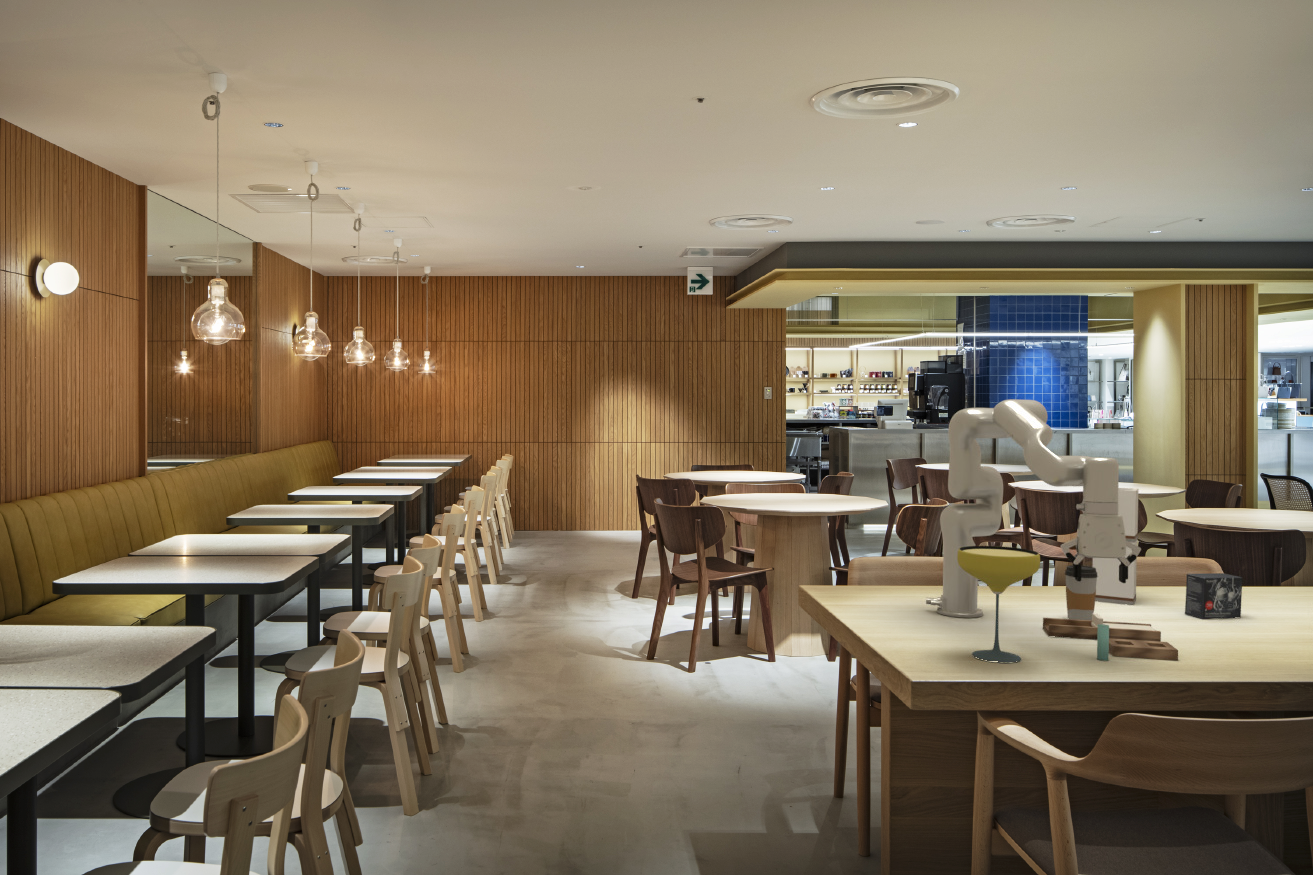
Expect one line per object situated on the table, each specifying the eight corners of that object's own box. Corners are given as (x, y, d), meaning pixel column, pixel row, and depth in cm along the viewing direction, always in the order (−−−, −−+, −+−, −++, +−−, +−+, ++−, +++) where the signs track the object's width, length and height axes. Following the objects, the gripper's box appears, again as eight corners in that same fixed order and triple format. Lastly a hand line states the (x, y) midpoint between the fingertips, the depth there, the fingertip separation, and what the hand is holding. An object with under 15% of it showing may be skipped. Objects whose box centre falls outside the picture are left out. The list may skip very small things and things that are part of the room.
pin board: (1112, 655, 210) (1112, 645, 210) (1103, 647, 218) (1104, 637, 218) (1177, 660, 207) (1178, 650, 207) (1167, 651, 215) (1167, 641, 215)
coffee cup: (1100, 624, 243) (1101, 570, 243) (1068, 623, 245) (1069, 569, 244) (1092, 618, 251) (1093, 565, 251) (1060, 616, 253) (1061, 564, 252)
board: (1049, 636, 229) (1049, 624, 229) (1042, 628, 238) (1043, 617, 238) (1160, 643, 223) (1160, 631, 223) (1149, 635, 231) (1150, 623, 231)
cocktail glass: (995, 671, 196) (997, 558, 196) (939, 651, 213) (941, 547, 212) (1056, 663, 203) (1058, 554, 203) (996, 644, 220) (998, 544, 219)
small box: (1203, 619, 251) (1204, 577, 251) (1184, 614, 258) (1184, 573, 258) (1242, 618, 254) (1243, 576, 254) (1222, 613, 261) (1223, 572, 260)
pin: (1098, 660, 206) (1099, 626, 206) (1095, 657, 208) (1096, 623, 208) (1109, 661, 206) (1110, 626, 205) (1107, 658, 208) (1107, 624, 208)
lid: (1097, 630, 227) (1097, 618, 227) (1091, 625, 234) (1091, 613, 233) (1157, 634, 224) (1157, 621, 224) (1149, 628, 230) (1150, 616, 230)
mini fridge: (1136, 599, 279) (1138, 488, 278) (1133, 605, 270) (1135, 490, 269) (1095, 595, 285) (1098, 486, 285) (1091, 600, 276) (1094, 488, 276)
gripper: (1064, 509, 208) (1064, 582, 209) (1145, 511, 205) (1145, 585, 205) (1057, 507, 216) (1057, 577, 216) (1135, 508, 212) (1135, 580, 212)
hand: (1100, 581), depth 210 cm, fingers open, 9 cm apart
